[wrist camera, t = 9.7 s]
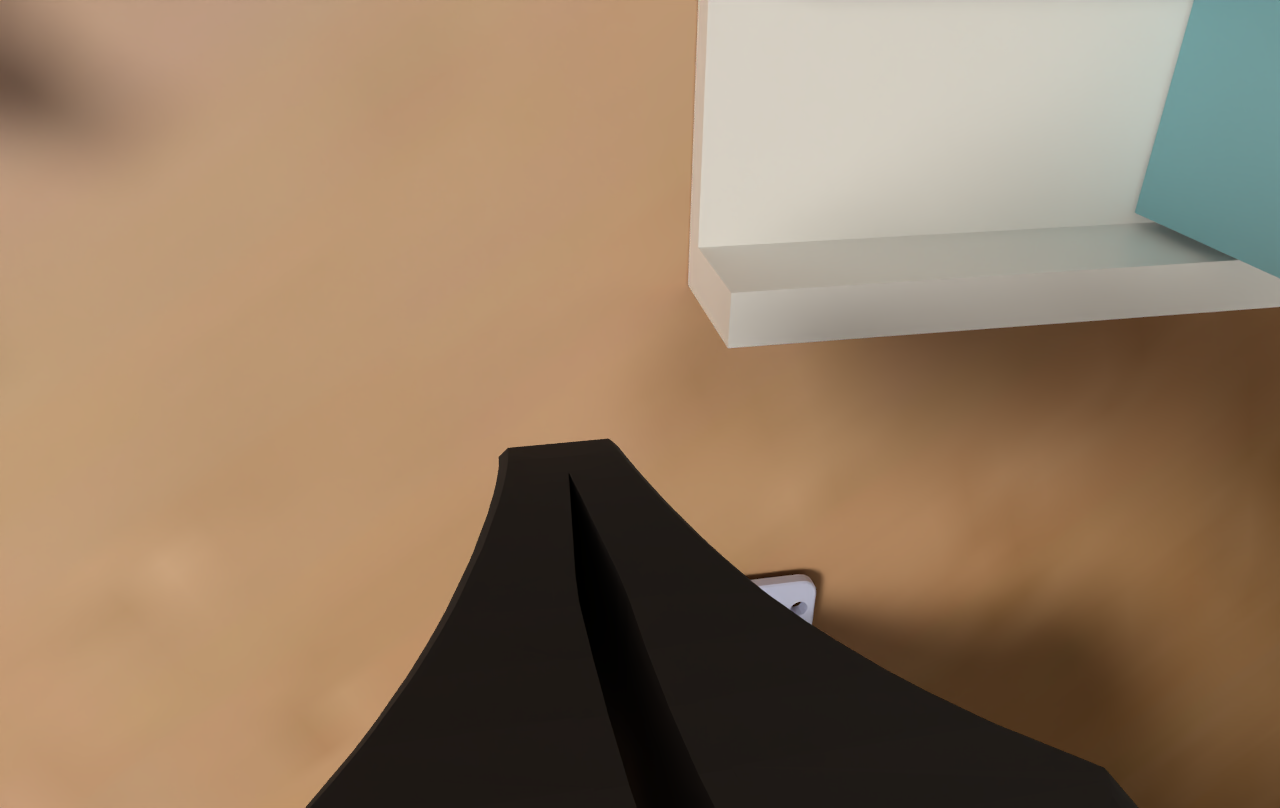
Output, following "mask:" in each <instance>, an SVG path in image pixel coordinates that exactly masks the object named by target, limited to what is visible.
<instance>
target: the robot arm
mask: <svg viewBox="0 0 1280 808" xmlns="http://www.w3.org/2000/svg"><path fill="white" fill-rule="evenodd" d="M815 598H816V587H815V585H814V583H813V582H812V580H811V579H810V577H808V576H806V575H803V574H796V575H787V576H779V577H771V578H762V579H754V580H750V579H749V578H747V577H746V576H745V575H744V574H743V573H741V572H740V571H739V570H738V569H737V568H736V567H734V566H733V565H732V564H731V563H730V562H729V561H728V560H726V559H725V558H724V557H723V556H722V555H721V554H719V553H718V552H717V551H716V550H715V549H714V548H713V547H712V546H711V545H710V544H709V543H707V542H706V541H705V540H704V539H703V538H702V537H701V536H700V535H699V534H698V533H697V532H696V531H695V530H694V529H693V528H692V527H691V526H690V525H689V524H688V523H687V522H686V521H685V520H684V519H683V518H682V517H681V516H680V515H679V514H678V513H677V512H676V511H675V510H674V509H673V508H672V507H671V506H670V505H669V504H668V503H667V502H666V501H665V500H664V499H663V498H662V497H661V496H660V495H659V494H658V492H657V491H656V490H655V489H654V488H653V487H652V486H651V485H650V484H649V483H648V481H647V480H646V479H645V478H644V477H643V476H642V475H641V473H640V472H639V471H638V470H637V469H636V468H635V467H634V465H633V464H632V463H631V462H630V461H629V459H628V458H627V457H626V456H625V455H624V453H623V452H622V451H621V450H620V448H619V447H618V446H617V445H616V444H615V443H613V442H612V441H611V440H610V439H600V440H589V441H578V442H567V443H557V444H546V445H535V446H524V447H513V448H507V449H506V450H505V451H504V452H503V453H502V454H501V455H500V456H499V470H498V476H497V482H496V486H495V490H494V494H493V498H492V501H491V504H490V508H489V511H488V514H487V517H486V520H485V523H484V525H483V528H482V530H481V533H480V536H479V538H478V541H477V544H476V546H475V549H474V552H473V554H472V556H471V559H470V561H469V563H468V566H467V568H466V570H465V572H464V574H463V576H462V578H461V580H460V582H459V584H458V586H457V589H456V591H455V593H454V595H453V597H452V599H451V601H450V603H449V605H448V607H447V609H446V611H445V613H444V615H443V617H442V618H441V620H440V622H439V624H438V626H437V628H436V629H435V631H434V633H433V635H432V636H431V638H430V640H429V642H428V643H427V645H426V647H425V648H424V650H423V651H422V653H421V655H420V656H419V658H418V660H417V661H416V663H415V664H414V666H413V668H412V669H411V671H410V672H409V674H408V676H407V677H406V679H405V680H404V681H403V683H402V684H401V686H400V687H399V689H398V690H397V692H396V693H395V694H394V696H393V697H392V699H391V700H390V702H389V703H388V704H387V706H386V707H385V709H384V710H383V712H382V713H381V715H380V716H379V717H378V719H377V720H376V722H375V723H374V724H373V726H372V727H371V728H370V730H369V731H368V732H367V734H366V735H365V736H364V738H363V739H362V740H361V742H360V743H359V744H358V745H357V747H356V748H355V749H354V751H353V752H352V753H351V754H350V755H349V757H348V758H347V759H346V760H345V761H344V762H343V764H342V765H341V766H340V767H339V768H338V770H337V771H336V772H335V773H334V774H333V775H332V777H331V778H330V779H329V780H328V781H327V783H326V784H325V785H324V786H323V787H322V789H321V790H320V791H319V792H318V793H317V794H316V796H315V797H314V798H313V799H312V800H311V802H310V803H309V804H308V805H307V806H306V808H1138V807H1137V806H1136V804H1135V803H1134V802H1133V801H1132V800H1131V798H1130V797H1129V796H1128V795H1127V794H1126V793H1125V791H1124V790H1123V789H1122V788H1121V787H1120V785H1119V784H1118V783H1117V782H1116V781H1115V780H1114V778H1113V777H1112V776H1111V775H1110V774H1109V773H1108V771H1107V770H1106V769H1105V768H1103V767H1101V766H1098V765H1096V764H1093V763H1091V762H1089V761H1086V760H1084V759H1081V758H1079V757H1076V756H1074V755H1071V754H1069V753H1066V752H1064V751H1061V750H1059V749H1056V748H1054V747H1051V746H1049V745H1046V744H1044V743H1041V742H1039V741H1036V740H1034V739H1031V738H1029V737H1026V736H1024V735H1022V734H1019V733H1017V732H1014V731H1012V730H1009V729H1007V728H1004V727H1002V726H999V725H997V724H994V723H992V722H990V721H988V720H986V719H983V718H981V717H979V716H977V715H975V714H973V713H971V712H969V711H967V710H964V709H962V708H960V707H958V706H956V705H954V704H952V703H950V702H948V701H946V700H944V699H942V698H940V697H937V696H935V695H933V694H931V693H929V692H927V691H925V690H923V689H921V688H919V687H917V686H916V685H914V684H912V683H910V682H908V681H906V680H904V679H902V678H900V677H898V676H897V675H895V674H893V673H891V672H889V671H887V670H885V669H884V668H882V667H880V666H879V665H877V664H875V663H873V662H872V661H870V660H868V659H867V658H865V657H863V656H862V655H860V654H858V653H856V652H855V651H853V650H851V649H850V648H848V647H846V646H845V645H843V644H841V643H839V642H838V641H836V640H834V639H833V638H831V637H830V636H828V635H827V634H825V633H824V632H822V631H820V630H819V629H817V628H816V627H814V626H813V625H812V621H813V614H814V606H815ZM798 602H801V603H800V604H799V605H798V606H795V607H791V606H793V605H794V604H795V603H798Z"/></svg>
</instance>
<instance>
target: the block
mask: <svg viewBox="0 0 1280 808" xmlns="http://www.w3.org/2000/svg"><path fill="white" fill-rule="evenodd" d="M1135 213H1136V214H1138V215H1141V216H1143V217H1145V218H1147V219H1149V220H1152V221H1154V222H1156V223H1158V224H1161V225H1163V226H1165V227H1167V228H1169V229H1172V230H1174V231H1176V232H1178V233H1180V234H1183V235H1185V236H1187V237H1189V238H1191V239H1194V240H1196V241H1198V242H1200V243H1202V244H1205V245H1207V246H1209V247H1211V248H1214V249H1216V250H1218V251H1220V252H1222V253H1225V254H1227V255H1229V256H1231V257H1233V258H1236V259H1238V260H1240V261H1242V262H1244V263H1247V264H1249V265H1251V266H1253V267H1256V268H1258V269H1260V270H1262V271H1264V272H1267V273H1269V274H1271V275H1273V276H1275V277H1278V278H1280V0H1194V2H1193V5H1192V9H1191V12H1190V16H1189V20H1188V23H1187V27H1186V30H1185V34H1184V37H1183V41H1182V45H1181V48H1180V52H1179V55H1178V59H1177V63H1176V66H1175V70H1174V73H1173V77H1172V80H1171V84H1170V88H1169V91H1168V95H1167V98H1166V102H1165V106H1164V109H1163V113H1162V116H1161V120H1160V124H1159V127H1158V131H1157V134H1156V138H1155V141H1154V145H1153V149H1152V152H1151V156H1150V159H1149V163H1148V167H1147V170H1146V174H1145V177H1144V181H1143V184H1142V188H1141V192H1140V195H1139V199H1138V202H1137V206H1136V210H1135Z"/></svg>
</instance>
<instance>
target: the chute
mask: <svg viewBox="0 0 1280 808" xmlns="http://www.w3.org/2000/svg"><path fill="white" fill-rule="evenodd" d="M1193 2H1194V0H698V23H697V51H696V79H695V107H694V134H693V162H692V190H691V218H690V245H689V273H688V286H689V287H690V289H691V291H692V292H693V294H694V295H695V297H696V299H697V300H698V302H699V303H700V305H701V306H702V308H703V310H704V311H705V313H706V314H707V316H708V318H709V319H710V321H711V322H712V324H713V325H714V327H715V329H716V330H717V332H718V333H719V335H720V337H721V338H722V340H723V341H724V343H725V344H726V346H727V348H738V347H751V346H764V345H778V344H791V343H804V342H818V341H831V340H845V339H858V338H871V337H885V336H898V335H911V334H925V333H938V332H951V331H965V330H978V329H991V328H1005V327H1018V326H1031V325H1045V324H1058V323H1071V322H1085V321H1098V320H1111V319H1125V318H1138V317H1151V316H1165V315H1178V314H1191V313H1205V312H1218V311H1231V310H1245V309H1258V308H1271V307H1280V278H1278V277H1275V276H1273V275H1271V274H1269V273H1267V272H1264V271H1262V270H1260V269H1258V268H1256V267H1253V266H1251V265H1249V264H1247V263H1244V262H1242V261H1240V260H1238V259H1236V258H1233V257H1231V256H1229V255H1227V254H1225V253H1222V252H1220V251H1218V250H1216V249H1214V248H1211V247H1209V246H1207V245H1205V244H1202V243H1200V242H1198V241H1196V240H1194V239H1191V238H1189V237H1187V236H1185V235H1183V234H1180V233H1178V232H1176V231H1174V230H1172V229H1169V228H1167V227H1165V226H1163V225H1161V224H1158V223H1156V222H1154V221H1152V220H1149V219H1147V218H1145V217H1143V216H1141V215H1138V214H1136V213H1135V210H1136V206H1137V202H1138V199H1139V195H1140V192H1141V188H1142V184H1143V181H1144V177H1145V174H1146V170H1147V167H1148V163H1149V159H1150V156H1151V152H1152V149H1153V145H1154V141H1155V138H1156V134H1157V131H1158V127H1159V124H1160V120H1161V116H1162V113H1163V109H1164V106H1165V102H1166V98H1167V95H1168V91H1169V88H1170V84H1171V80H1172V77H1173V73H1174V70H1175V66H1176V63H1177V59H1178V55H1179V52H1180V48H1181V45H1182V41H1183V37H1184V34H1185V30H1186V27H1187V23H1188V20H1189V16H1190V12H1191V9H1192V5H1193Z"/></svg>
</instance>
